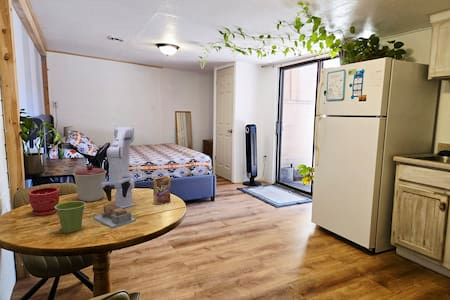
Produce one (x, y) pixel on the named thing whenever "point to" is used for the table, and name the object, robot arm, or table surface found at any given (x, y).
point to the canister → (90, 183)
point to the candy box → (161, 190)
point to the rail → (113, 211)
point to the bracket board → (115, 220)
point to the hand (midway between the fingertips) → (117, 198)
